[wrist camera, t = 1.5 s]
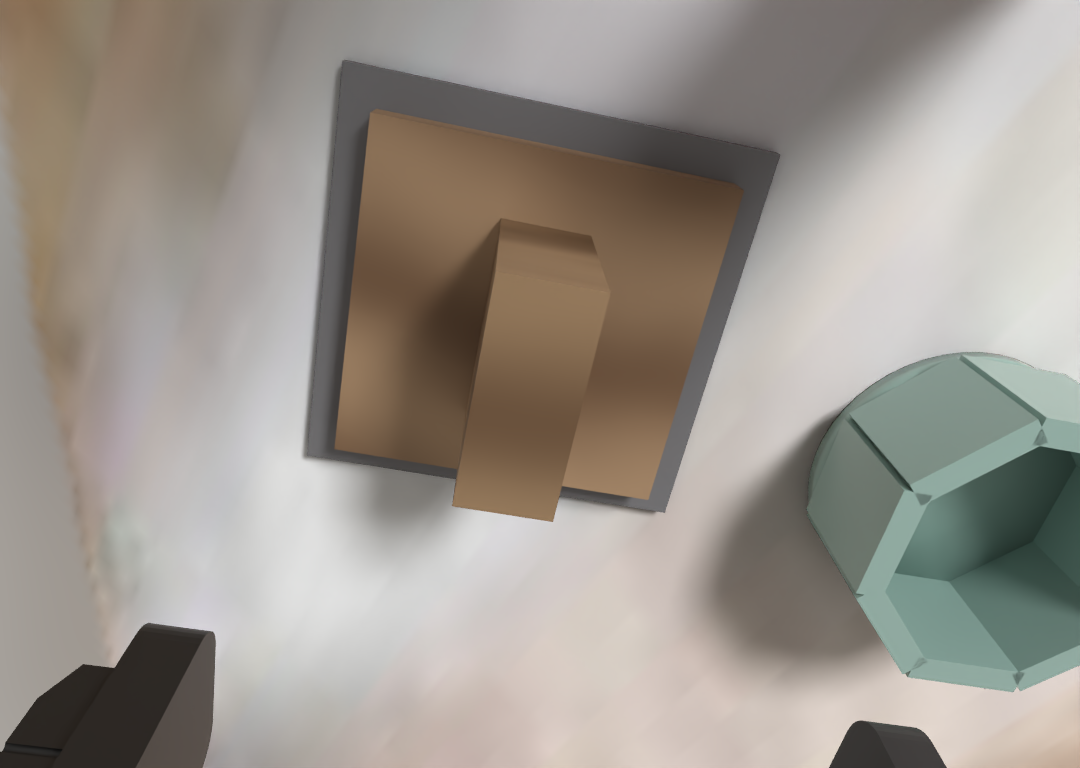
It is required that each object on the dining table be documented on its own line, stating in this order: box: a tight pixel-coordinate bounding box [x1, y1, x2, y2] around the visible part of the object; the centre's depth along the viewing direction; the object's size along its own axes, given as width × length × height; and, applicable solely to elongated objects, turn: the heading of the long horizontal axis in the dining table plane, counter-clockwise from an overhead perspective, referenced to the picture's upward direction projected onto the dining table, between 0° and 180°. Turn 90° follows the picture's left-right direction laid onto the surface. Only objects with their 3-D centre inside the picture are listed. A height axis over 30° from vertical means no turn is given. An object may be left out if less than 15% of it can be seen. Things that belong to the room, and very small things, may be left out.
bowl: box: [806, 352, 1080, 692], centre depth 24 cm, size 9×9×5 cm
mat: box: [307, 60, 780, 513], centre depth 23 cm, size 12×12×1 cm
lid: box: [334, 109, 744, 522], centre depth 20 cm, size 10×10×6 cm
